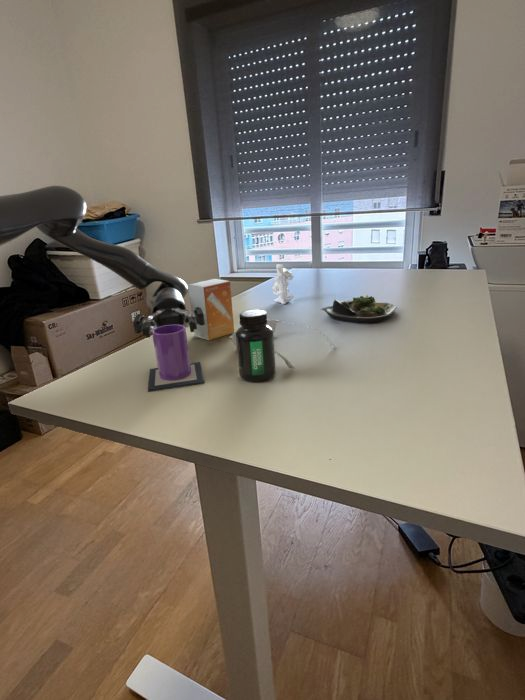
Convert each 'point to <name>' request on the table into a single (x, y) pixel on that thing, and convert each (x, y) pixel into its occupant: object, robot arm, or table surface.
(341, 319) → the salad plate
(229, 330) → the small box
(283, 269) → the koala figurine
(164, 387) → the tablet
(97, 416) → the table surface
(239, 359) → the supplement bottle
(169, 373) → the tumbler
